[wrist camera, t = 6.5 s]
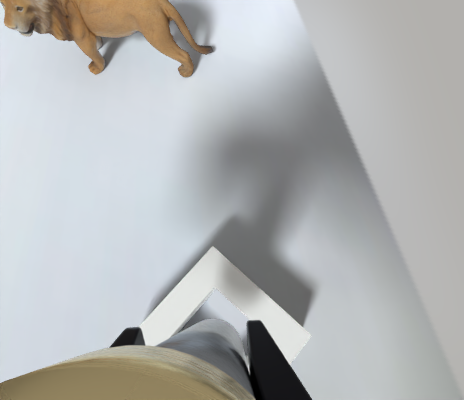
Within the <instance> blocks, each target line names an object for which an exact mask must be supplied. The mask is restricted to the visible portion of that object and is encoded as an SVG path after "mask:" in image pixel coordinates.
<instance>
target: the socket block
mask: <svg viewBox="0 0 464 400" xmlns="http://www.w3.org/2000/svg"><path fill="white" fill-rule="evenodd" d="M216 289H217V290H218V291H219V292H220V293H221V294H223V295H224V296H225V297H226V298H227V299H228V300H229V301H230V302H231V303H232V304H233V305H234V306H235V307H236V308H237V309H238V310H240V311H241V312H242V313H243V314H244V315H245V316H246V317H247V318H248V319H249V320H260V321H262V323H263V324H264V326H265V327H266V329H267V330H268V332H269V333H270V335H271V336H272V338H273V340H274V341H275V343H276V344H277V346H278V347H279V349H280V350H281V352H282V353H283V355H284V357H285V358H286V360H287V361H288V363H289V364H291V363H292V361H293V360H294V359H295V357H296V356H297V355H298V353H299V352H300V351H301V349H302V348H303V347H304V345H305V344H306V343H307V341H308V340H309V339H310V337H311V336H312V335H311V334H310V333H309V332H307V331H306V330H305V329H304V328H303V327H302V326H301V325H300V324H299V323H297V322H296V321H295V320H294V319H293V318H292V317H291V316H290V315H289V314H288V313H286V312H285V311H284V310H283V309H282V308H281V307H280V306H279V305H278V304H276V303H275V302H274V301H273V300H272V299H271V298H270V297H269V296H268V295H267V294H265V293H264V292H263V291H262V290H261V289H260V288H259V287H258V286H257V285H255V284H254V283H253V282H252V281H251V280H250V279H249V278H248V277H247V276H245V275H244V274H243V273H242V272H241V271H240V270H239V269H238V268H237V267H236V266H234V265H233V264H232V263H231V262H230V261H229V260H228V259H227V258H226V257H224V256H223V255H222V254H221V253H220V252H219V251H218V250H217V249H216V248H215V247H213V246H212V247H211V248H210V249H209V250H208V252H207V253H206V254H205V255H204V256H203V257H202V258H201V259H200V260H199V261H198V263H197V264H196V265H195V266H194V267H193V268H192V269H191V270H190V271H189V272H188V273H187V275H186V276H185V277H184V278H183V279H182V280H181V281H180V282H179V283H178V284H177V285H176V287H175V288H174V289H173V290H172V291H171V292H170V293H169V294H168V295H167V296H166V298H165V299H164V300H163V301H162V302H161V303H160V304H159V305H158V306H157V307H156V308H155V310H154V311H153V312H152V313H151V314H150V315H149V316H148V317H147V318H146V319H145V320H144V322H143V323H142V324H141V325H140V326H139V327H140V328H141V330H142V333H143V337H144V341H145V345H146V346H156V345H158V344H160V343H161V342H163V341H165V340H167V339H169V338H171V337H172V336H174V335H176V334H178V332H179V331H180V330H181V329H182V328H183V327H184V326H185V324H186V323H187V322H188V321H189V320H190V319H191V318H192V316H193V315H194V314H195V313H196V312H197V311H198V310H199V308H200V307H201V306H202V305H203V304H204V303H205V302H206V300H207V299H208V298H209V297H210V296H211V295H212V294H213V292H214V291H215V290H216ZM246 361H247V365H248V370H249V360H248V354H247V356H246ZM249 374H250V373H249Z"/></svg>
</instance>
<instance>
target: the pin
mask: <svg viewBox="0 0 464 400" xmlns="http://www.w3.org/2000/svg"><path fill="white" fill-rule="evenodd" d="M0 400H256V399H255V397H254V392H253V388H252V383H251V379H250V374H249V370H248V365H247V361H246V356H245V352H244V347H243V343H242V340H241V337H240V335H239V333H238V332H237V331H236V329H235V328H234V327H233V326H232V325H230V324H229V323H227V322H225V321H223V320H220V319H205V320H202V321H200V322H198V323H196V324H194V325H192V326H191V327H189V328H187V329H185V330H183V331H181V332H180V333H178V334H176V335H174V336H172V337H171V338H169V339H167V340H165V341H163V342H161V343H160V344H158V345H156V346H141V345H127V346H119V347H112V348H105V349H101V350H97V351H94V352H90V353H86V354H83V355H80V356H77V357H74V358H71V359H68V360H65V361H63V362H60V363H57V364H54V365H51V366H48V367H45V368H42V369H39V370H36V371H33V372H30V373H28V374H25V375H22V376H19V377H16V378H13V379H10V380H7V381H4V382H2V383H0Z"/></svg>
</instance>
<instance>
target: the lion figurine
mask: <svg viewBox="0 0 464 400" xmlns="http://www.w3.org/2000/svg"><path fill="white" fill-rule="evenodd" d="M0 2H1V4H2V6H3V8H4V9H5V18H4V24H5V26H7V27H8V28H11V29H13V30H17V31H19V32H20V33H21V34H22V35H24V36H26V37H29V36H31V35H32V33H33V31H36V32H38V33H40V34H44V33H50V34H52V35H53V36H55V38H56V39H58V40H63V41H65V40H68V41H72V40H74V41H75V42H76V44H77V45H78V46H79V47H80V49H81V50H82V51H83V52H84V53H85V54H86V55H87V56H89V57H90V58H91V59H92V60H93V61H92V62H91V63H90V64H89V66H88V67H89V69H90V71H91V72H92V73H94V74H99V73H100V72H102V71H103V69H104V66H105V60H104V59H103V57H102V56H101V54H100V53H99V51H98V49H99V48H100V47H101V46H102V39H101V37H100V36H102V37H110V38H118V37H125V36H129V35H131V34H133V33H135V32H137V31H140V32H141V33H142V34H143V35H144V37H145V38H146V39H147V41H148V42H149V43H150V44H151V45H152V46H153V47H155V48H156V49H157V50H158V51H160V52H161V53H163V54H165V55H166V56H168V57H171V58H172V59H175V60H177V61H179V62H180V63H182V65H181V66H180V67H179V68H178V71H179V73H180V75H182V76H183V77H189V76H191V75H192V73H193V69H194V65H193V62H192V60H191V58H190V55H189V54H188V52H186V51H184V50H182V49H181V48H180V47H179V46H178V45H177V44H176V42H175V41H174V40H173V36H172V35H171V33H170V28H169V23H170V21H172V20H173V21H174V22H175V23H176V25H177V26H178V28H179V30H180V31H181V33H182V34H183V36H184V37H185V39H186V40H187V42H188V43H189V44H190V46H191V47H192V48H193V49H194V50H196V51H198V52H199V53H202V54H205V55H207V54H208V53H211V52H212V51H213V50H212V47H211V46H202V45H201V46H200V45H197V44H196V43H195V41H194V39H193V38H192V36H191V34H190V32H189V30H188V28H187V26H186V24H185V22H184V21H183V19H182V17H181V16H180V14H179V13H178V12H177V10H176V9H175V8H174V6H173V5H172V4H171V3H170V2H168V0H0Z"/></svg>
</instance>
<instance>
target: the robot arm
mask: <svg viewBox="0 0 464 400" xmlns="http://www.w3.org/2000/svg"><path fill="white" fill-rule="evenodd" d="M127 345H141V346H146V345H145V341H144V337H143V333H142V330H141V328H140V327H132V328H126V329H125V330H124V331H123V332H122V333H121V334H120V335H119V337H118V338H117V339H116V340H115V341H114V343H113V344H112V345H111V346H110V347H109V348H112V347H119V346H127ZM247 347H248V360H249V373H250V379H251V383H252V388H253V392H254V397H255V399H256V400H312V398H311V397H310V395H309V394H308V392H307V391H306V389H305V388H304V386H303V384H302V383H301V381H300V380H299V378H298V377H297V375H296V374H295V372H294V370H293V369H292V367H291V366H290V364H289V363H288V361H287V360H286V358H285V357H284V355H283V353H282V352H281V350H280V349H279V347H278V346H277V344H276V343H275V341H274V340H273V338H272V336H271V335H270V333H269V332H268V330H267V329H266V327H265V326H264V324H263V323H262V321H260V320H249V321H247Z"/></svg>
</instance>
